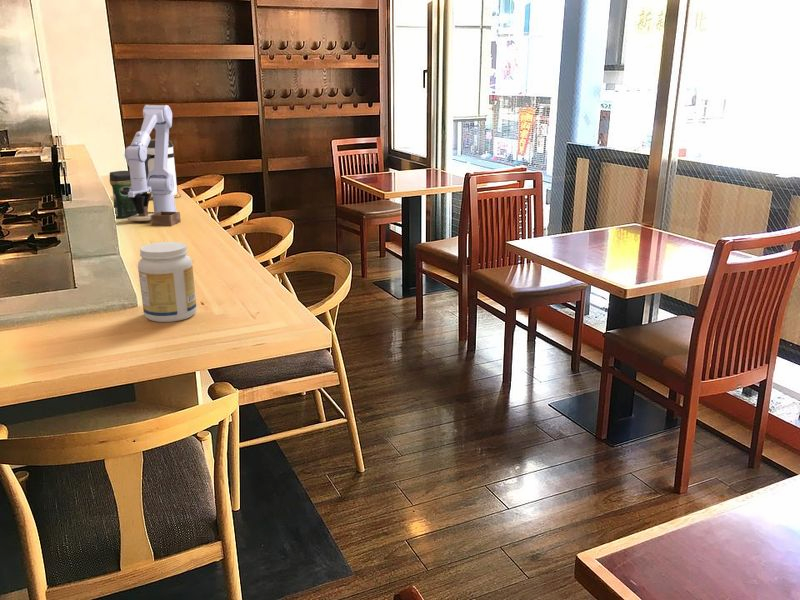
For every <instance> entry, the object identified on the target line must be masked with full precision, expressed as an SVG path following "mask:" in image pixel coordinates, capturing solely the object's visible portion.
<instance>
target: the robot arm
mask: <svg viewBox="0 0 800 600" xmlns="http://www.w3.org/2000/svg"><path fill="white" fill-rule="evenodd" d="M142 116H143V120H142V121H143V122H142V124H141V127H140V130H139V131H136V133H135V135H134V136H133V139H132V141H131V144H130V145H128V146H127V147H125V148H124V149H125V150H124V155H123V156H124V158H125V160H126V164H127V166H128V167H129V171H130V178H131V186H132V189H129V191H130V192H128V197H130V199H131V200H132V202H133V204H134V206H135V208H136V211H137V213H138V214H143V212H144V206H147V210H149V203H150V199H151V198H152V197H153V198H152V204H153V213H152V214H155V213H158V212H160V211H163V212H179V210H177V208H176V207H177V206H176V200H175V195H173V194H172V191H173V190H174V179H173V175H172V174H171V173H170V172H169V171H168V170H167V160H168V140H170V139H169V138H170V137H169V136H170V128H172V127H173V126H172V125H173V112H172V109H171V107H170V106H169V105H167V104H165V105H164V104H163V105H162V104H161V105H159V104H158V105H155V104H152V105H151V104H145V105H144V107H143V108H142ZM153 129H154V130H155V138H154V139H155V159H154V169H153V170H152V171H150V172H149V173H148V178H147V179H146V171H145V162H144V161H145V160H146V159H147V147H148V145H149V142H150V140H151V139H152V138H151V136H150V134H151V133H152V131H153ZM151 194H152V195H151Z"/></svg>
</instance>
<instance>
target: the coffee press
mask: <svg viewBox="0 0 800 600" xmlns="http://www.w3.org/2000/svg"><path fill="white" fill-rule="evenodd" d="M154 159H155V138H153V139H152V138H151V140H150V142H149V145H148V147H147V159H146V160H145V161H144V162H145V171H146V179H147V178H148V173H149V172H150V171H152V170H153V169H154ZM167 170H168V171H169V172H170V173H171V174H172V175H173V179H174V190H173V191H172V194H173V195H174V196H176V197H178V198H181V197H182V194H179V196H178V193H179V190H178V189H179V188H178V180H177V170H176V161H175V152H174V144H173V142H172V141H171V140H170V139H168V160H167ZM150 200H153V197H152V194H151V197H150ZM150 200H149V201H150Z"/></svg>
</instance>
